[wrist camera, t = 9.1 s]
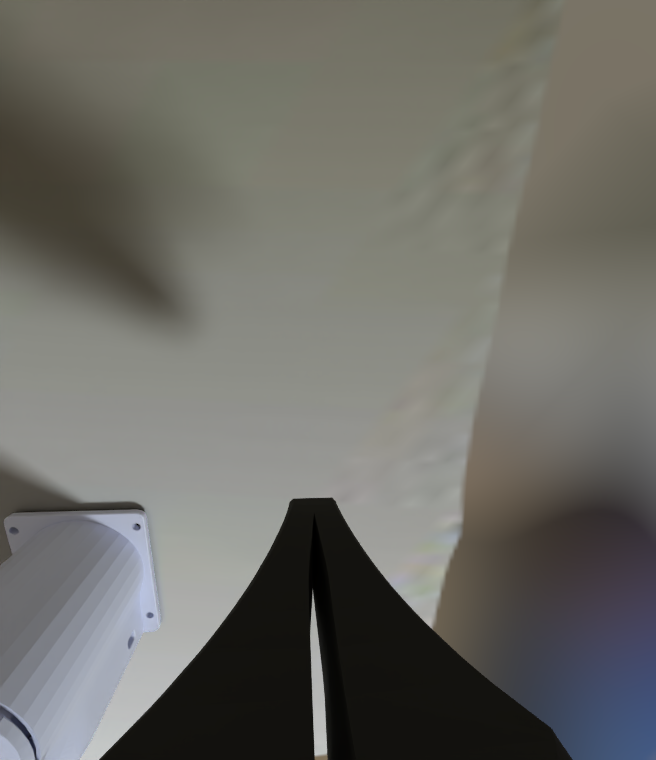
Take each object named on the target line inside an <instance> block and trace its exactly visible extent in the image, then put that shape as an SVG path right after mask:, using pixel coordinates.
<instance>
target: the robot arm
mask: <svg viewBox="0 0 656 760" xmlns="http://www.w3.org/2000/svg"><path fill="white" fill-rule="evenodd" d="M136 523H137V524H139V525H140V526H137V525H136ZM4 527H5V530H6V534H7V538H8V541H9V545H10V548H11V552H12V555H11V556H10V557H9V558H8V559H7V560H6V561H4V562H3V563H2V564H1V565H0V760H80V758H81V757H82V755H83V754H84V752H85V751H86V749H87V747H88V746H89V744H90V742H91V740H92V738H93V736H94V734H95V732H96V730H97V728H98V726H99V724H100V722H101V720H102V717H103V715H104V713H105V711H106V709H107V707H108V705H109V703H110V701H111V699H112V697H113V694H114V692H115V690H116V688H117V686H118V684H119V682H120V680H121V678H122V676H123V674H124V672H125V669H126V667H127V665H128V663H129V661H130V659H131V657H132V655H133V653H134V651H135V649H136V646H137V644H138V642H139V640H140V638H141V636H142V634H143V632H153V631H156V630H158V629H159V627H160V624H161V615H160V608H159V601H158V594H157V587H156V580H155V572H154V565H153V558H152V551H151V544H150V537H149V530H148V522H147V516H146V513H145V512H144V511H142V510H138V509H133V510H97V511H60V512H23V513H12V514H10V515H9V516H7V517H6V518H5V519H4ZM312 591H313V594H314V603H315V611H316V620H317V628H318V637H319V646H320V654H321V663H322V671H323V682H324V693H325V711H326V733H327V755H328V760H572V758H571V757H570V755H569V754H568V753H567V751H566V749H565V748H564V747H563V745H562V744H561V742H560V741H559V739H558V738H557V736H556V735H555V733H554V732H553V730H552V729H551V728H550V727H549V726H548V725H546V724H545V723H544V722H542V721H541V720H539V718H537V717H536V716H535V715H533V714H532V713H531V712H529V711H528V710H527V709H525V708H524V707H523V706H521V705H520V704H519V703H518V702H516V701H515V700H514V699H512V698H511V697H510V696H508V695H507V694H506V693H505V692H503V691H502V690H501V689H499V688H498V687H497V686H495V685H494V684H493V683H492V682H490V681H489V680H488V679H487V678H485V677H484V676H483V675H482V674H481V673H479V672H478V671H477V670H476V669H475V668H474V667H473V666H471V665H470V664H469V663H468V662H467V661H465V660H464V659H463V658H462V657H461V656H460V655H459V654H458V653H457V652H456V651H454V650H453V649H452V648H451V647H450V646H449V645H448V644H447V643H446V642H445V641H444V640H443V639H442V638H441V637H440V636H439V635H438V634H437V633H436V632H434V631H433V630H432V629H431V628H430V627H429V626H428V625H427V624H426V623H425V622H424V621H423V620H422V619H421V618H420V617H419V616H418V615H417V614H416V613H415V612H414V611H413V609H412V608H411V607H410V606H409V605H408V604H407V603H406V602H405V601H404V600H403V599H402V598H401V596H400V595H399V594H398V593H397V592H396V591H395V590H394V588H393V587H392V586H391V585H390V584H389V582H388V581H387V580H386V579H385V578H384V576H383V575H382V574H381V573H380V571H379V570H378V569H377V567H376V566H375V565H374V563H373V562H372V561H371V559H370V558H369V557H368V555H367V554H366V552H365V551H364V550H363V548H362V547H361V545H360V543H359V542H358V540H357V539H356V537H355V536H354V534H353V533H352V531H351V530H350V528H349V526H348V525H347V523H346V521H345V519H344V518H343V516H342V514H341V512H340V510H339V508H338V506H337V504H336V501H335V500H334V499H333V498H303V499H293V500H291V501H290V503H289V508H288V511H287V514H286V516H285V519H284V521H283V524H282V526H281V528H280V531H279V533H278V535H277V537H276V539H275V541H274V543H273V545H272V547H271V549H270V551H269V553H268V554H267V556H266V558H265V559H264V561H263V563H262V565H261V566H260V568H259V570H258V572H257V573H256V575H255V577H254V578H253V580H252V581H251V583H250V584H249V586H248V588H247V589H246V591H245V592H244V594H243V595H242V597H241V598H240V599H239V601H238V602H237V604H236V605H235V607H234V608H233V609H232V611H231V612H230V613H229V615H228V616H227V617H226V619H225V620H224V621H223V623H222V624H221V625H220V627H219V628H218V629H217V631H216V632H215V633H214V635H213V636H212V637H211V638H210V640H209V641H208V642H207V643H206V645H205V646H204V647H203V648H202V650H201V651H200V652H199V653H198V654H197V655H196V657H195V658H194V659H193V660H192V661H191V662H190V663H189V665H188V666H187V667H186V668H185V669H184V670H183V671H182V673H181V674H180V675H179V676H178V677H177V678H176V679H175V681H174V682H173V683H172V684H171V685H170V686H169V687H168V689H167V690H166V691H165V692H164V693H163V694H162V695H161V697H160V698H159V699H158V700H157V701H156V702H155V703H154V704H153V705H152V706H151V707H150V708H149V709H148V710H147V711H146V712H145V713H144V714H143V716H142V717H141V718H140V719H139V720H138V721H137V722H136V723H135V724H134V725H133V726H132V727H131V728H130V729H129V730H128V731H127V732H126V733H125V734H124V735H123V736H122V737H121V738H120V739H119V740H118V741H117V742H116V743H115V744H114V745H113V746H112V747H111V748H110V749H109V750H108V751H107V752H106V753H105V754H104V755H103V756H102V757H101V758H100V759H99V760H315V757H314V732H313V706H312V678H311V650H310V625H311V608H312Z"/></svg>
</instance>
